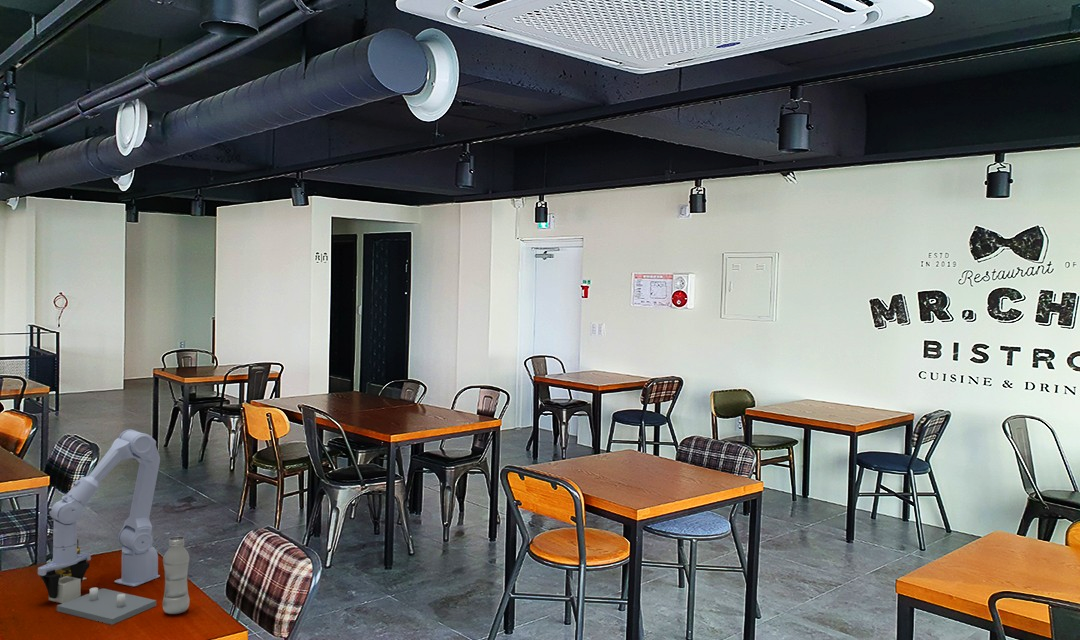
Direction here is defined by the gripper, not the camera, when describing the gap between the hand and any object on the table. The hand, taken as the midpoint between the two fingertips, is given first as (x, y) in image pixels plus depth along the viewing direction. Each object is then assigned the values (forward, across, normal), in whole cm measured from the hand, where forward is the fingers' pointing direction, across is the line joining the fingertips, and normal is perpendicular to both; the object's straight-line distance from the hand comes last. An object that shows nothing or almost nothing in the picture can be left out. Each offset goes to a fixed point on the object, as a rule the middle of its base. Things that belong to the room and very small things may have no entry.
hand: (64, 593), depth 226 cm
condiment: (+2, -10, -12) cm, 16 cm away
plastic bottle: (+2, -6, +34) cm, 35 cm away
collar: (+1, 0, 0) cm, 1 cm away
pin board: (+1, 0, +16) cm, 16 cm away
